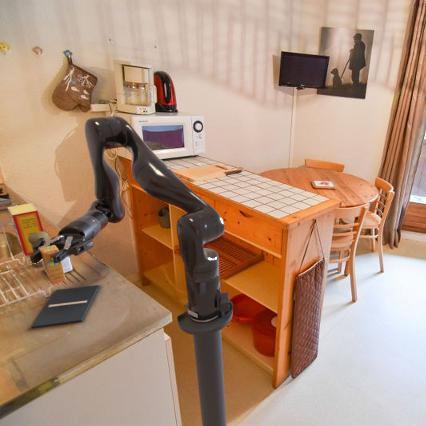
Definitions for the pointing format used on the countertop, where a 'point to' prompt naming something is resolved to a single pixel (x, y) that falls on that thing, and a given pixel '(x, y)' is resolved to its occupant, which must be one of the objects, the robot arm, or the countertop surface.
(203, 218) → the robot arm
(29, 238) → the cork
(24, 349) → the countertop surface
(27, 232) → the baking soda box
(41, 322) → the slate mat
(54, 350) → the countertop surface
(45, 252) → the supplement box
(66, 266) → the product carton
